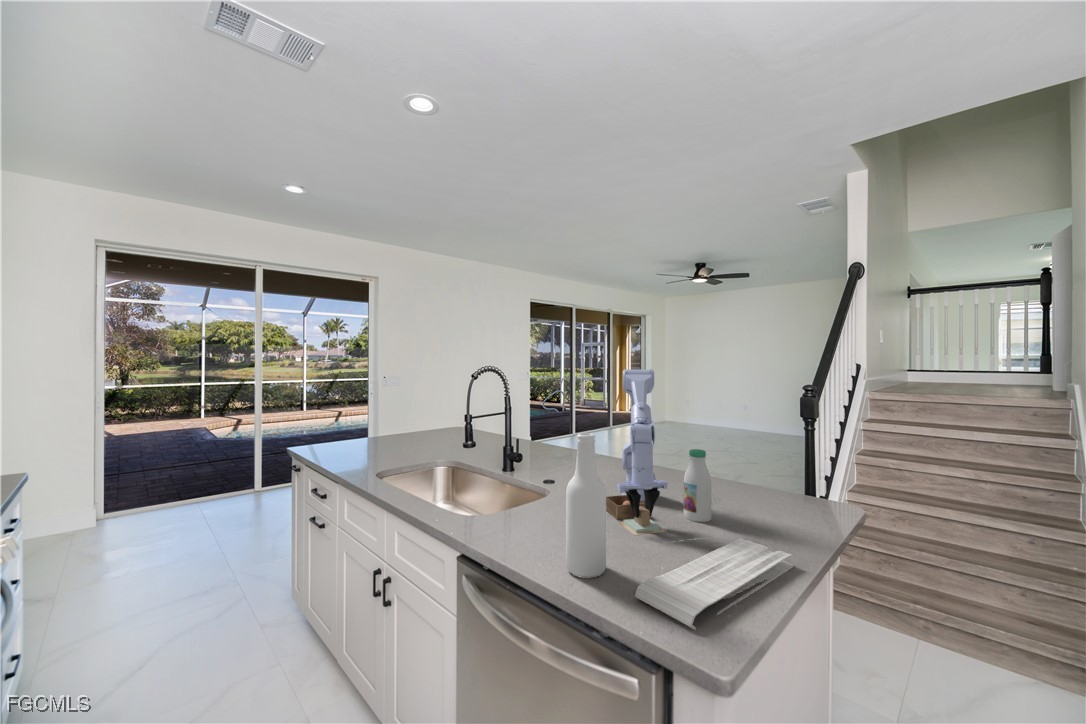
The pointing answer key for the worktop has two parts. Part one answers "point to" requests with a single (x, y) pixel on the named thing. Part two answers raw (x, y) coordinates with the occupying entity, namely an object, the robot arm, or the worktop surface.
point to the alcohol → (586, 514)
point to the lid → (642, 522)
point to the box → (620, 507)
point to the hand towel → (713, 579)
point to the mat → (642, 532)
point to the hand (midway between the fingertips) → (642, 515)
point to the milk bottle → (697, 488)
